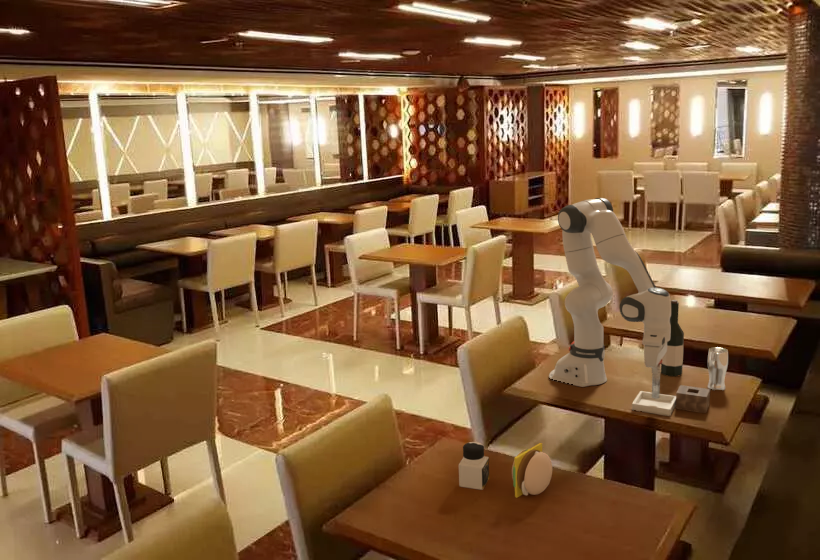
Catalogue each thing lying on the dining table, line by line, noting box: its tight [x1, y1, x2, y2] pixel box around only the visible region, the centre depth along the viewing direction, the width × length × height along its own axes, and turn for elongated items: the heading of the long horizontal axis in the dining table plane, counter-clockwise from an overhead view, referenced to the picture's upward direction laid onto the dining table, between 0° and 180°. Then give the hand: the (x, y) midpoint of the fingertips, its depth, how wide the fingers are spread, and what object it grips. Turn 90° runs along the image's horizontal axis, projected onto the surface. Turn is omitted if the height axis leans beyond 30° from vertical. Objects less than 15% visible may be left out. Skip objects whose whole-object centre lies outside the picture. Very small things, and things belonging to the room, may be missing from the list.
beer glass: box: [707, 346, 729, 391], centre depth 267 cm, size 7×7×15 cm
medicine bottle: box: [458, 441, 490, 491], centre depth 206 cm, size 7×7×12 cm
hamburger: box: [511, 442, 553, 498], centre depth 200 cm, size 12×8×12 cm
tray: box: [631, 390, 676, 417], centre depth 254 cm, size 13×13×2 cm
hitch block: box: [675, 384, 711, 414], centre depth 252 cm, size 10×8×6 cm
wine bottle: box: [660, 299, 685, 377], centre depth 283 cm, size 8×8×30 cm
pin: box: [651, 359, 663, 399], centre depth 252 cm, size 4×4×14 cm
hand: (656, 371), depth 251 cm, fingers closed on pin, 3 cm apart
